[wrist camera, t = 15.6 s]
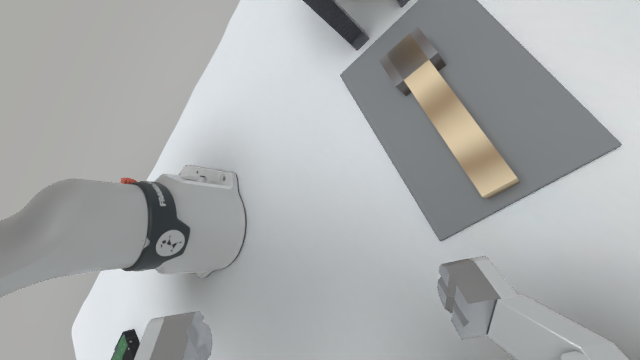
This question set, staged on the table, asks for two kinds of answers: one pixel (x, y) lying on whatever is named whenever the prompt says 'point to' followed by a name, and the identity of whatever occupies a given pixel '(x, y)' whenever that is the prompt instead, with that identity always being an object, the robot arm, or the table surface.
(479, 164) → the beech bar
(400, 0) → the black stand
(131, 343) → the disk drive
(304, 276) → the table surface
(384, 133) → the rubber mat
